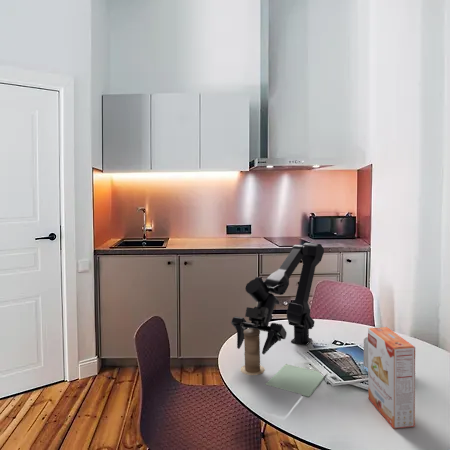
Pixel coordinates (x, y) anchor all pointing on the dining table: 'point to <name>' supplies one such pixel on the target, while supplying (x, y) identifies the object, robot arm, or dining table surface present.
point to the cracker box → (391, 376)
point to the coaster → (252, 373)
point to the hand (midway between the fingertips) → (250, 351)
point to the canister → (252, 350)
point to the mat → (296, 380)
